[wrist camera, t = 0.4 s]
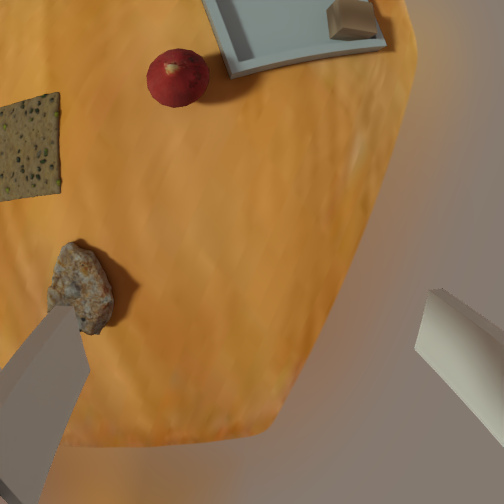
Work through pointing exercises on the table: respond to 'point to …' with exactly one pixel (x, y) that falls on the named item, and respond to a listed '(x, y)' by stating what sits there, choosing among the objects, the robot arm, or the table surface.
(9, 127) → the speckled stone tile
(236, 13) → the dish
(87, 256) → the rock
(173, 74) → the onion
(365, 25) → the walnut cube
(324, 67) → the table surface
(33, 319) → the table surface
